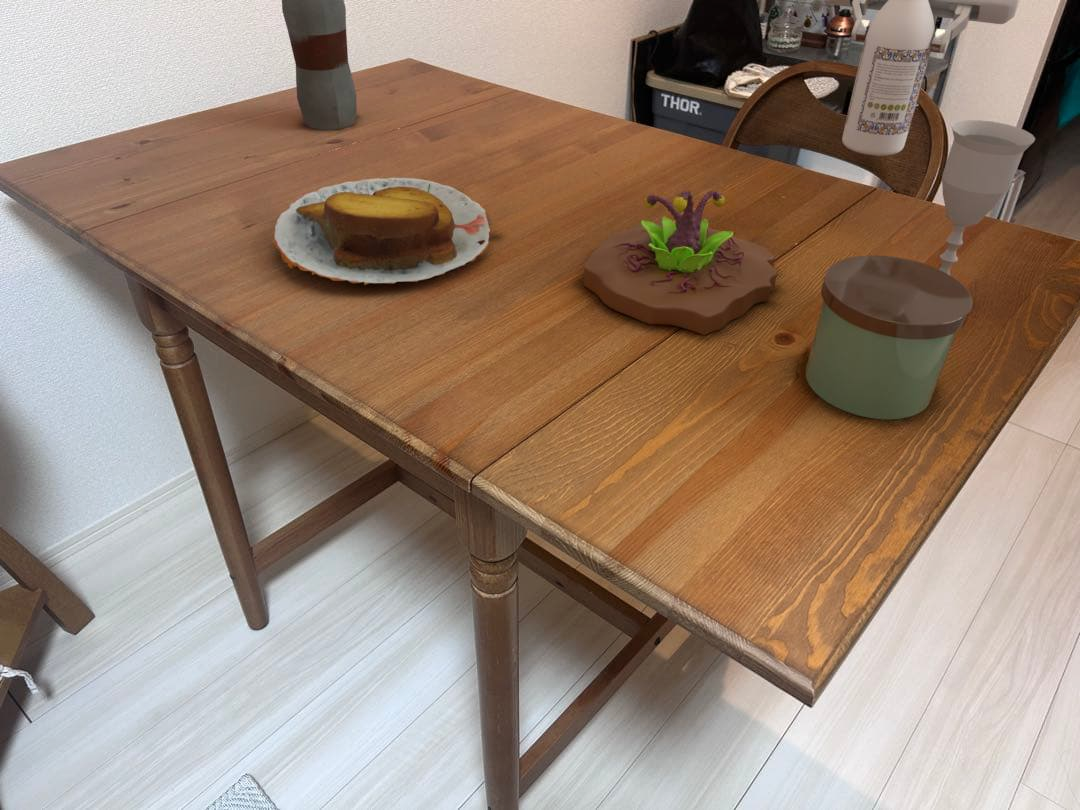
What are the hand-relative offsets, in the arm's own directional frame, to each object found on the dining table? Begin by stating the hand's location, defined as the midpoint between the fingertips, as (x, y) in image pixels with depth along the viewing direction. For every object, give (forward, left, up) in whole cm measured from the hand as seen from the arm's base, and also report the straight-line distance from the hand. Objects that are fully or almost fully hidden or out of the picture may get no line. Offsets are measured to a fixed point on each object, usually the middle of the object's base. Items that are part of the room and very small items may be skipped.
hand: (897, 44), depth 88 cm
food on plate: (+34, +45, -22) cm, 61 cm away
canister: (-19, +27, -22) cm, 40 cm away
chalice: (-15, +8, -22) cm, 28 cm away
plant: (+5, +26, -22) cm, 35 cm away
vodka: (+76, +28, -22) cm, 84 cm away
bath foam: (0, -1, -12) cm, 12 cm away
